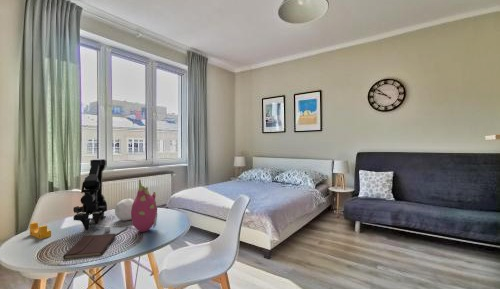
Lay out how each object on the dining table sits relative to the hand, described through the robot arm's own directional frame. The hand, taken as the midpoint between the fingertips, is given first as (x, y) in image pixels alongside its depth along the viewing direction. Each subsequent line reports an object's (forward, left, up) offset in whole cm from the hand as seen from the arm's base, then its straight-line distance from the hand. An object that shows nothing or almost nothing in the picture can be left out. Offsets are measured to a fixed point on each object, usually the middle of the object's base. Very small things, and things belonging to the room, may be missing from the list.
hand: (91, 227), depth 136 cm
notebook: (+21, +18, -1) cm, 28 cm away
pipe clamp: (+11, -21, -2) cm, 23 cm away
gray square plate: (+4, +13, -1) cm, 14 cm away
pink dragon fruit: (-1, +32, -1) cm, 32 cm away
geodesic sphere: (-18, +10, -1) cm, 21 cm away
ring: (0, 0, -1) cm, 1 cm away
